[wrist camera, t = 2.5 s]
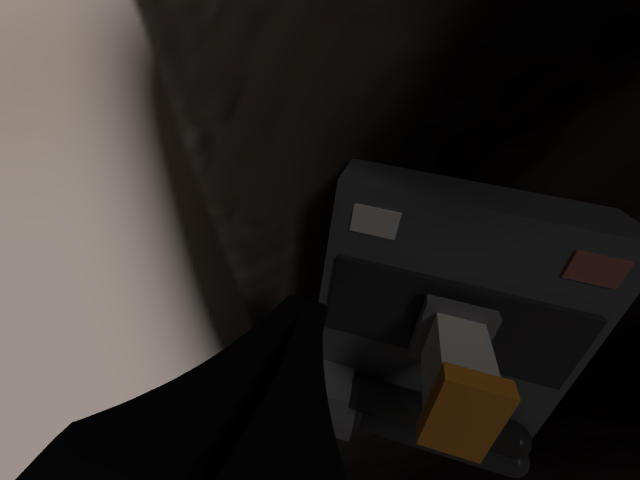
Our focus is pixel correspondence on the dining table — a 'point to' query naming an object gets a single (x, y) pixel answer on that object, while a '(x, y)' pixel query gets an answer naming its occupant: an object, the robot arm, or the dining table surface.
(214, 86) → the dining table surface
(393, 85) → the dining table surface
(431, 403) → the breaker toggle
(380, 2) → the dining table surface
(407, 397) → the breaker box
